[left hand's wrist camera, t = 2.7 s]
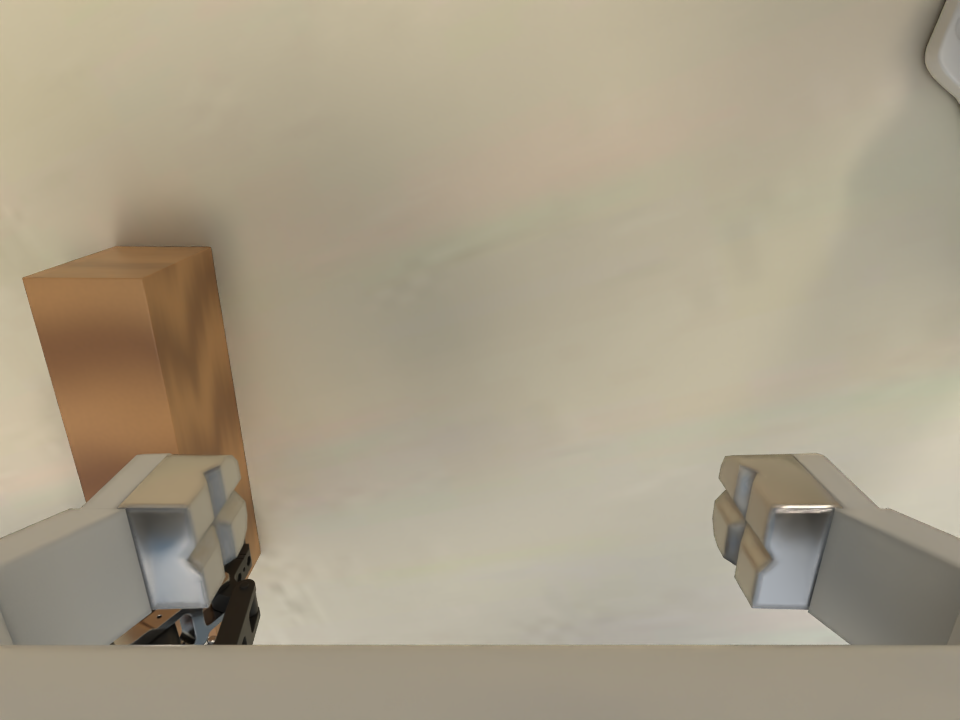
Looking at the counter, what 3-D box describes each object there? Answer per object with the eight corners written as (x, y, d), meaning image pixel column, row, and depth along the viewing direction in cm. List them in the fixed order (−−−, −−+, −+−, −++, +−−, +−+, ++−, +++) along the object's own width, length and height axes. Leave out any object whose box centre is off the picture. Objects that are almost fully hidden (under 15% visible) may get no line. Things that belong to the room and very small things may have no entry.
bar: (114, 246, 37) (21, 277, 29) (211, 246, 36) (142, 278, 29) (182, 552, 45) (123, 636, 38) (261, 553, 45) (217, 637, 38)
